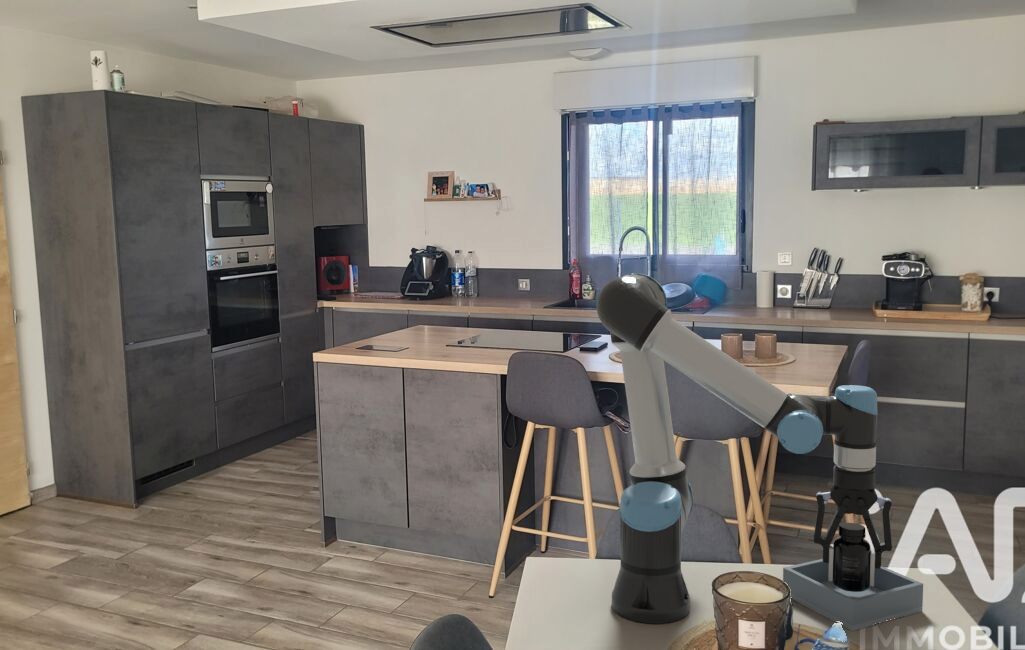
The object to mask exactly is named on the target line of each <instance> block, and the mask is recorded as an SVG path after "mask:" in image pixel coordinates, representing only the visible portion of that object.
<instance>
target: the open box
mask: <svg viewBox="0 0 1025 650" xmlns="http://www.w3.org/2000/svg"><path fill="white" fill-rule="evenodd" d="M783 581H784V582H786V583H787V584H788V586H789V587H790V589H791V597H792V599H791V600H793V601H795V602H797V603H799V604H800V605H802V606H805V607H806V608H808V609H810V610H811V611H814V612H816V613H817V614H819V615H821V616H823V617H825V618H828V620H831V621H832V622H834V623H836V622H835V621H840V622H842V623H843V626H842V627H843V628H845V629H848V630H850V631H852V632H854V631H857V630H861V628H862V629H864V627H865V628H869V627H872V626H874V625H873V624H875V623H879V622H883V621H886V620H890V619H894V618H897V619H899V618H898V617H901V618H903V617H902V616H904V617H907V616H906V615H908V616H911V614H912V615H915V614H919V613H922V612H923V604H924V603H923V602H924V601H923V600H924V599H923V598H924V583H922V582H921V581H920V582H919V581H918V580H915V579H913V578H911V577H909V576H906V575H903V574H901V573H899V572H896V571H894V570H893V569H890V568H887V567H885V566H882V565H881V567H880V569H878V568H875V571H874V586H869V588H868V589H867V590H865V591H862V592H851V591H845V590H842V589H839V588H837V587H836V586H835V585H834V584H833V581H829V563H824V562H823V558H820V559H816V560H812V561H807V562H802V563H798V564H793V565H790V566H785V567H783V568H782V582H783ZM894 620H895V619H894ZM890 621H891V620H890ZM883 623H884V622H883ZM879 624H880V623H879ZM871 625H872V626H871ZM868 626H869V627H868Z"/></svg>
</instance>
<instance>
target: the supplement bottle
mask: <svg viewBox="0 0 1025 650" xmlns="http://www.w3.org/2000/svg"><path fill="white" fill-rule="evenodd" d="M866 535H867V534H866V526H865V525H862V524H860V523H856V522H842V523H840V524H839V526H838V537H836V538H835V539H834V540H833V542H832V544H833V548H834V550H833V584H834V585H835V586H836V587H837V588H839V589H842V590H845V591H851V592H862V591H865V590H867V589H868V588H869V586H870V554H871V544H870V543H869V541H868V540H866Z"/></svg>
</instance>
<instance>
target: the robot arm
mask: <svg viewBox="0 0 1025 650" xmlns="http://www.w3.org/2000/svg"><path fill="white" fill-rule="evenodd" d="M667 305H668V298H667V295H666V292H665V289H664V287H663V286H662V285H661V284H660V282H659V281H657V280H656V279H655V278H654V277H652V276H650V275H647V274H644V273H630V274H625V275H623V276H620V277H616V278H614V279H612V280H610V281H609V282H607V283H606V284H605V285H604V286H603V287H602V288H601V290H600V291H599V293H598V296H597V300H596V313H597V316H598V319H599V321H600V323H601V324H602V326H604V327H605V329H607V331H609V335H610V341H611V344H612V345H613V346H614V347H616V349H618V350H619V352H620V359H621V367H622V373H623V380H624V381H623V382H624V387H625V395H626V403H627V410H628V416H629V417H628V418H629V426H630V433H631V438H632V439H631V440H632V447H633V455H634V461H635V462H634V464H633V465H632V467H631V468H630V469H629V478H630V479H629V480H630V485H629V486H628V487H626V488H625V489H624V490H623V491H622V493H621V496H620V502H619V507H618V509H619V515H620V516H619V519H620V520H619V523H620V529H619V531H620V534H619V535H620V538H619V539H620V546H619V547H620V549H619V550H620V567H619V570H618V574H617V577H616V580H615V583H614V587H613V589H612V591H611V608H612V609H613V612H615V613H616V614H618V615H619V616H620V617H623V618H625V619H627V620H630V621H633V622H638V623H644V624H665V623H666V624H668V623H672V622H675V621H679V620H681V619H684V618H685V617H686V616H687V615H689V612H690V610H691V599H690V598H691V597H690V594H689V590H688V588H687V584H686V582H685V577H684V575H683V572H682V534H683V533H682V532H683V530H684V527H685V524H686V523H687V520H688V519H689V517H690V515H691V513H692V511H693V506H694V492H693V489H692V486H691V483H690V482H689V481H688V476H687V469H686V465H685V463H684V462H682V461H681V460H680V459H678V456H677V449H676V440H675V435H674V428H673V422H672V421H673V420H672V413H671V406H670V405H671V404H670V399H669V397H670V395H669V389H668V382H667V376H666V367H665V363H666V364H668V365H670V366H672V368H674V369H676V370H678V372H680V373H682V374H683V375H685V376H686V377H687V378H689V379H691V380H692V381H694V382H695V383H696V384H698V386H699V385H700V387H702V388H704V389H705V390H707V391H708V392H709V393H711V394H712V395H714V396H716V397H717V398H719V399H720V400H721V401H724V402H725V403H726V404H727V405H729V406H731V407H732V408H734V409H735V410H736V411H738V412H739V413H741V414H742V415H744V416H745V417H747V418H748V419H749V420H751V421H753V422H755V423H756V424H757V425H759V426H760V427H762V429H764V430H766V431H767V432H768V433H770V434H772V435H773V436H774V437H776V438H777V439H778V442H779V443H780V444H781V445H782V447H783V448H784V449H785V450H787V451H789V452H790V453H793V454H801V455H802V454H808V453H810V452H812V451H815V449H816V448H817V447H818V446H819V444H820V443H821V441H822V437H823V435H824V436H825V435H827V436H834V438H833V441H834V442H833V443H834V444H833V463H834V465H833V469H832V470H833V473H832V475H833V477H832V478H833V479H832V488H831V489H830V491H827V492H826V491H825V492H823V491H817V492H816V494H815V496H816V502H817V511H816V518H815V524H814V525H815V526H814V532H813V543H814V544H818V545H821V547H822V559H823V562H824V563H829V581H833V550H834V548H833V542H832V541H834V540H833V539H834V537H835V535H836V532H837V530H838V529H839V525H840V524H841V521H842V519H843V517H844V515H845V514H846V515H851V514H854V515H857V516H862V519H863V522H864V524H865V528H866V530H867V533H868V536H869V538H870V541H871V543H872V546H873V548H871V554H870V586H874V571H875V568H878V569H880V567H881V566H882V554H883V553H884V552H891V551H892V549H893V544H892V533H891V531H892V529H891V522H890V521H891V519H890V512H891V508H892V500H891V498H890V497H882V496H880V495H878V494H877V492H876V470H875V468H874V467H876V465H877V464H876V462H877V461H876V460H877V457H876V456H877V455H876V454H877V433H878V432H877V431H878V414H879V412H878V394H877V392H876V391H875V389H874V388H872V387H870V386H865V385H860V384H859V385H857V384H854V385H853V384H850V385H849V384H848V385H845V384H844V385H839V386H838V387H836V389H835V392H834V395H830V396H829V395H812V394H811V395H809V394H795V393H786V392H784V391H783V390H781V389H780V388H778V387H777V386H776V385H774V384H772V383H770V382H769V380H766V379H765V378H763V377H761V375H759V374H757V373H755V372H754V371H753V370H751V369H750V368H748V367H747V366H745V365H743V364H742V363H741V362H739V361H737V359H735V358H733V357H731V356H730V355H729V354H727V353H726V352H723V351H722V350H721V349H719V348H718V347H716V346H715V345H714V344H712V343H711V342H709V341H707V339H704V338H703V337H701V336H700V335H698V334H697V333H695V332H694V331H692V330H691V329H689V328H688V327H686V326H685V325H683V324H682V323H680V322H679V321H678V320H676V319H674V317H673V315H672V310H671V309H669V308H668V306H667ZM829 499H832V501H833V502H834V503H835V505H836V510H835V511H834V514H833V517H832V519H831V521H830V524H829V527H828V529H827V530H826V533H825V535H824V536H822V530H823V529H822V528H823V525H824V524H823V523H824V516H825V510H826V505H827V504H829ZM876 503H877V505H878V508H879V509H880V510H881V519H882V521H881V522H882V531H883V542H881V541H880V539H879V536H878V534H877V531H876V528H875V525H874V522H873V520H872V517H871V514H870V511H869V510H870V509H871V508H872V506H874V504H876Z"/></svg>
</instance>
